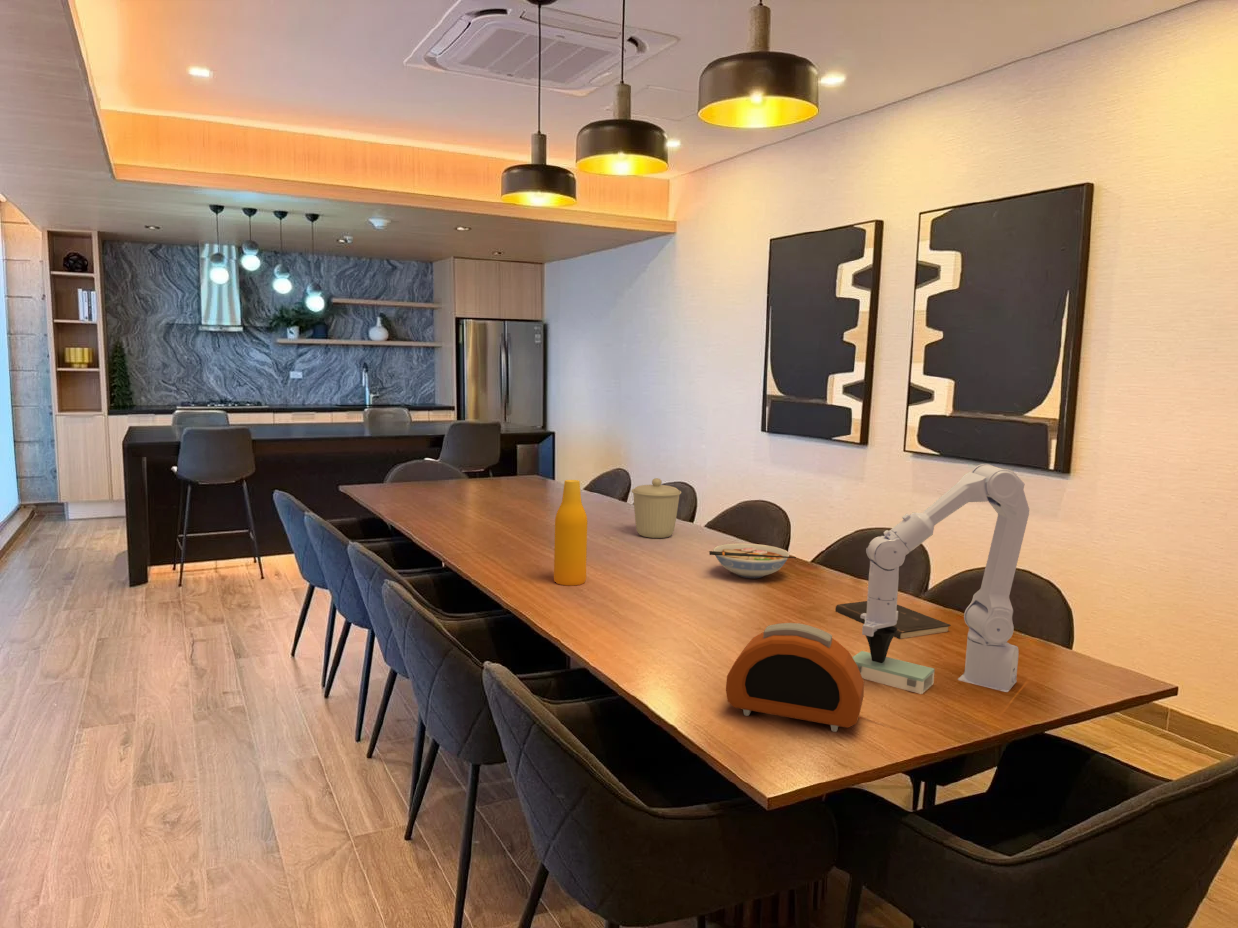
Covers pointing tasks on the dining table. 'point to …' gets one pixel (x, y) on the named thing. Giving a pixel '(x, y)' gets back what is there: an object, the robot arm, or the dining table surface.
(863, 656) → the panel
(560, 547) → the beer bottle
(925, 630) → the hardcover book
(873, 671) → the cream piece
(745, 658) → the alarm clock
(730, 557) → the ramen bowl
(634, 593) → the dining table surface
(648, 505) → the canister
